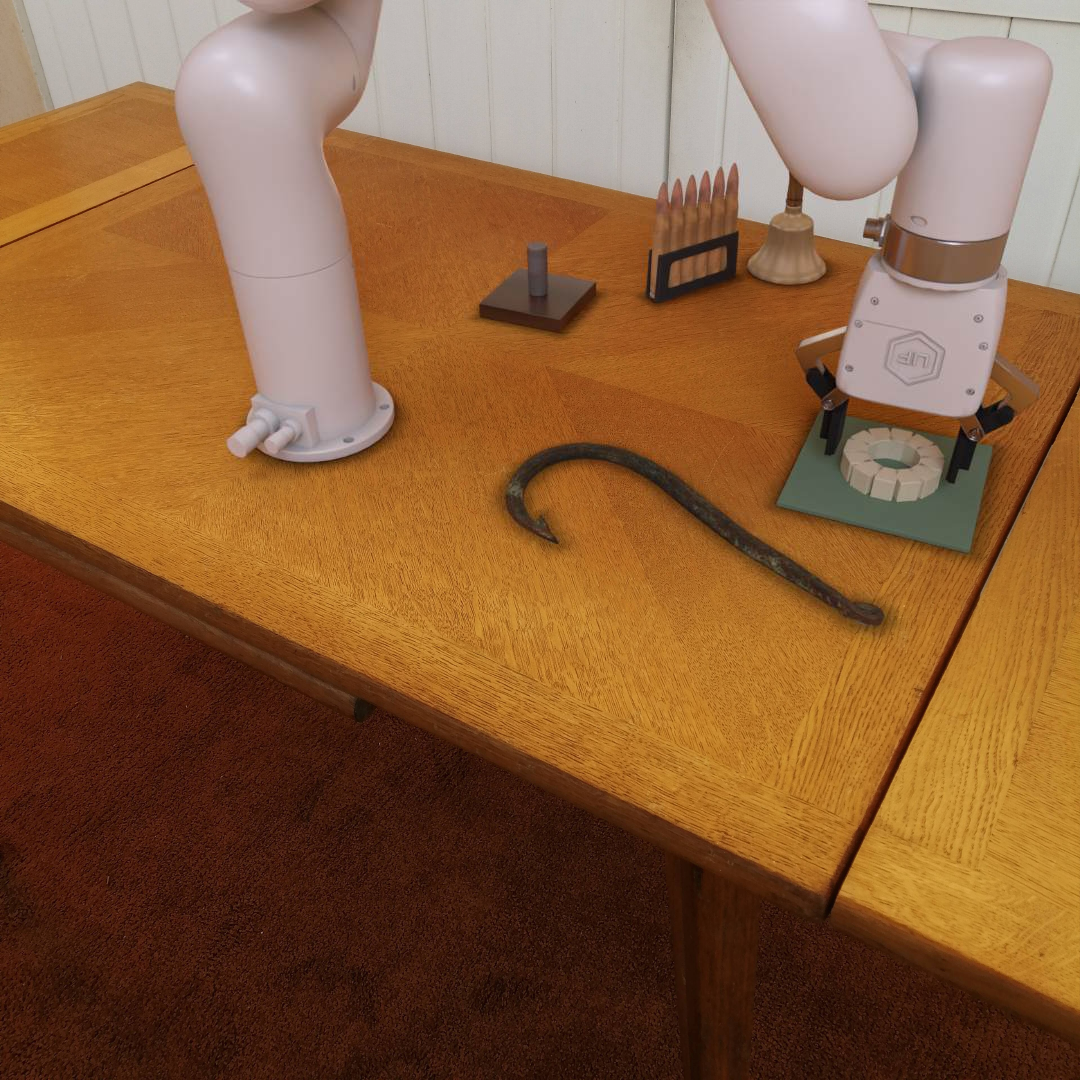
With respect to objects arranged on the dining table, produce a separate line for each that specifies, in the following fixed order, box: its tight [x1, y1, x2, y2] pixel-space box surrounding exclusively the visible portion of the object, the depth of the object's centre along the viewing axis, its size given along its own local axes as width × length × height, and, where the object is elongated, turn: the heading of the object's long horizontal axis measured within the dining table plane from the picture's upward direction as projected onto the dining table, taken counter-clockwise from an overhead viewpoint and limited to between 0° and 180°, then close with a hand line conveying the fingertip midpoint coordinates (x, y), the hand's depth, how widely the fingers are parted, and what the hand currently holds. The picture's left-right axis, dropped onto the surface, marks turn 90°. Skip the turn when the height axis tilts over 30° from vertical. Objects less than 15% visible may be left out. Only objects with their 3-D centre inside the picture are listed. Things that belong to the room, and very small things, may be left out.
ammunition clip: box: [645, 162, 740, 304], centre depth 101 cm, size 11×2×12 cm, turn 122°
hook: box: [504, 442, 885, 628], centre depth 75 cm, size 12×30×2 cm, turn 66°
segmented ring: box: [840, 428, 945, 502], centre depth 78 cm, size 7×7×2 cm
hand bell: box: [746, 171, 827, 286], centre depth 103 cm, size 8×8×16 cm
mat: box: [775, 409, 994, 554], centre depth 78 cm, size 14×14×1 cm
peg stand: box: [478, 241, 597, 334], centre depth 101 cm, size 9×9×6 cm
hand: (891, 459), depth 77 cm, fingers open, 8 cm apart
